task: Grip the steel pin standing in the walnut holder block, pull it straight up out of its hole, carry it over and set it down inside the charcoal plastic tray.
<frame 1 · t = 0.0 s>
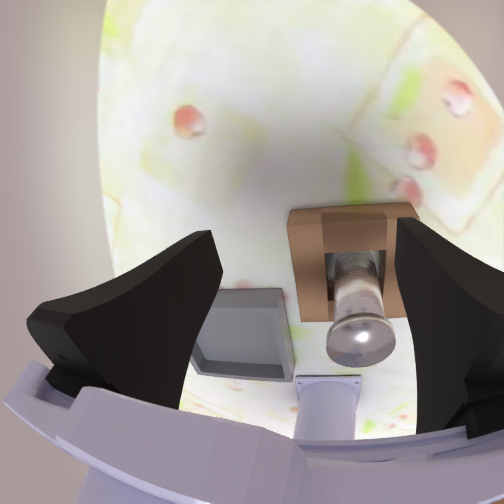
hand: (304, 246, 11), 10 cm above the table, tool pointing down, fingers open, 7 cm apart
steel pin: (357, 295, 18), in the holder block
tray: (235, 330, 30), on the table
holder block: (353, 257, 22), on the table
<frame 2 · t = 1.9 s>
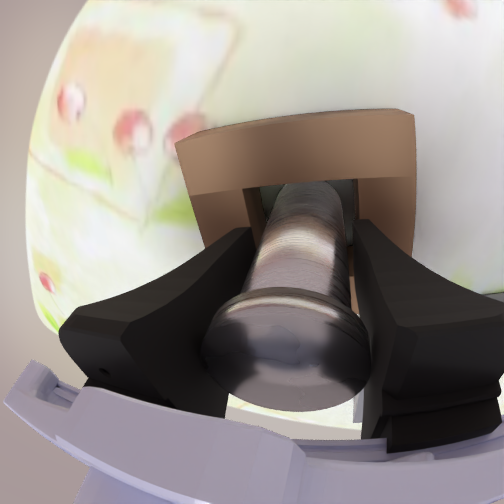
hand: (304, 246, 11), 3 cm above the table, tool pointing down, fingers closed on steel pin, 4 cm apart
steel pin: (301, 263, 10), in the holder block, touching gripper
tray: (431, 355, 17), on the table
holder block: (308, 208, 13), on the table
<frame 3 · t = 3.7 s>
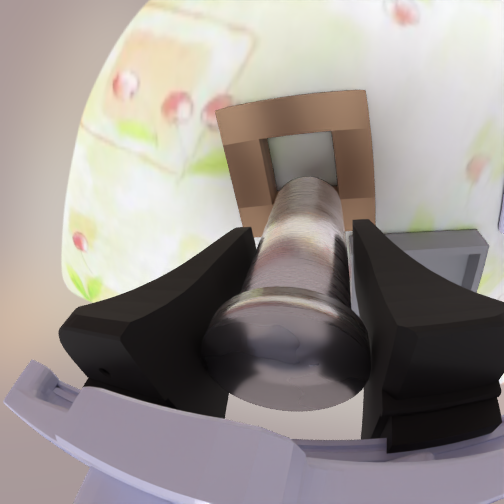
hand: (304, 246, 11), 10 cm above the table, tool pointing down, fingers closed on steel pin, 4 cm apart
steel pin: (301, 262, 10), point 11 cm above the table, touching gripper
tray: (411, 288, 23), on the table
holder block: (302, 159, 19), on the table
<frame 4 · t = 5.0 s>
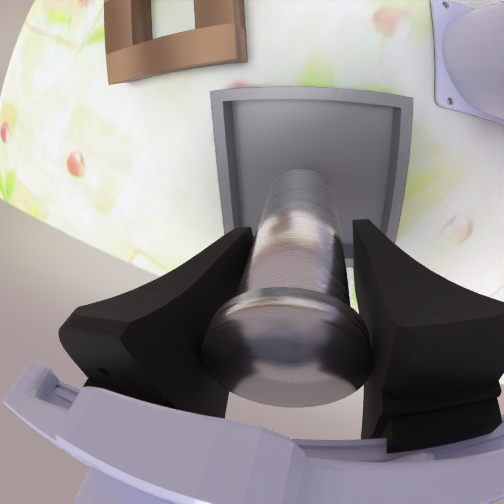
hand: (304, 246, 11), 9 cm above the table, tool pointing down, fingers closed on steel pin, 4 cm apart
steel pin: (297, 257, 10), point 10 cm above the table, touching gripper
tray: (312, 171, 18), on the table
holder block: (178, 13, 14), on the table
when the fingers open (6 cm above the table, at t = 5.9 s): steel pin drops 2 cm, resting on tray.
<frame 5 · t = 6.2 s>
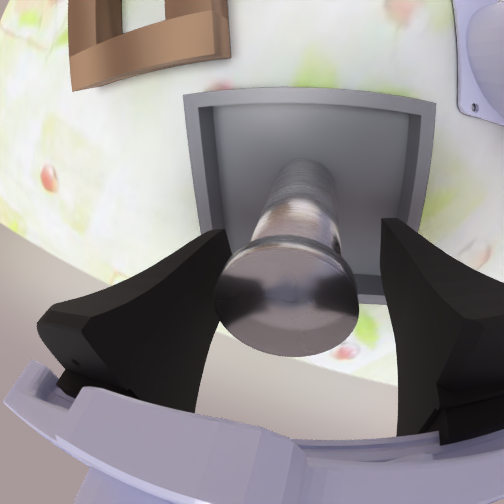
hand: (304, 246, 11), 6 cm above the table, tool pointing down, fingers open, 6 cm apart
steel pin: (298, 230, 11), in the tray, point 5 cm above the table
tray: (310, 190, 16), on the table
holder block: (151, 4, 11), on the table
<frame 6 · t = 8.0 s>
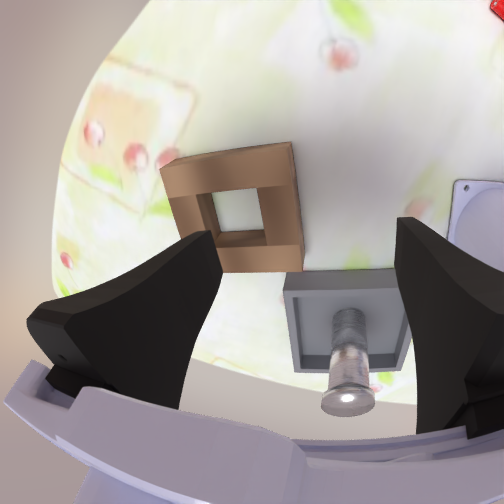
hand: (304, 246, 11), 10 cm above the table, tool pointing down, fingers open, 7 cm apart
steel pin: (349, 359, 22), in the tray, point 5 cm above the table
tray: (351, 318, 26), on the table
holder block: (240, 205, 22), on the table
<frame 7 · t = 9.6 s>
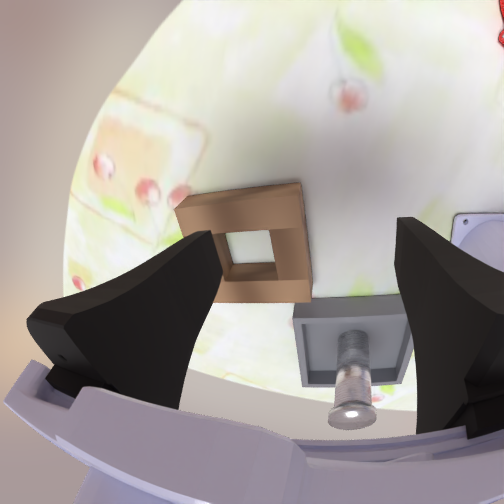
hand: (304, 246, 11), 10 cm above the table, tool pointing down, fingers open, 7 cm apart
steel pin: (353, 377, 23), in the tray, point 5 cm above the table
tray: (355, 338, 27), on the table
holder block: (252, 240, 24), on the table
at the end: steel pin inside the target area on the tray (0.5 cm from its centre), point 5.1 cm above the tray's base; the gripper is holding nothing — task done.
